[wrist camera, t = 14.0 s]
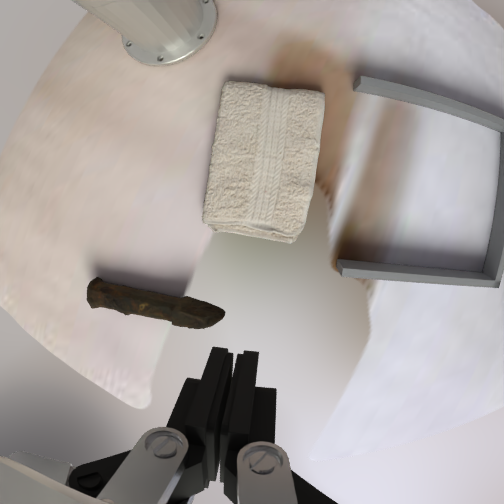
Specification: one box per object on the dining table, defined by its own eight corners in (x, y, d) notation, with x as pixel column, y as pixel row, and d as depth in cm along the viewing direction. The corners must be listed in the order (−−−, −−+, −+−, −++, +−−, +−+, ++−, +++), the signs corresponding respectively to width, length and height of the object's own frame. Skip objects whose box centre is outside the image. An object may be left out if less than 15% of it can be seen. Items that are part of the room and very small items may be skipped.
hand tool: (99, 298, 42) (83, 312, 37) (98, 273, 41) (81, 286, 36) (223, 327, 41) (217, 345, 37) (226, 301, 40) (220, 317, 36)
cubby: (353, 83, 31) (361, 75, 28) (506, 128, 30) (521, 127, 26) (336, 266, 37) (341, 276, 34) (486, 279, 36) (498, 287, 33)
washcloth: (204, 227, 38) (198, 233, 35) (223, 82, 33) (218, 75, 30) (301, 242, 37) (304, 249, 34) (324, 95, 32) (328, 89, 29)
